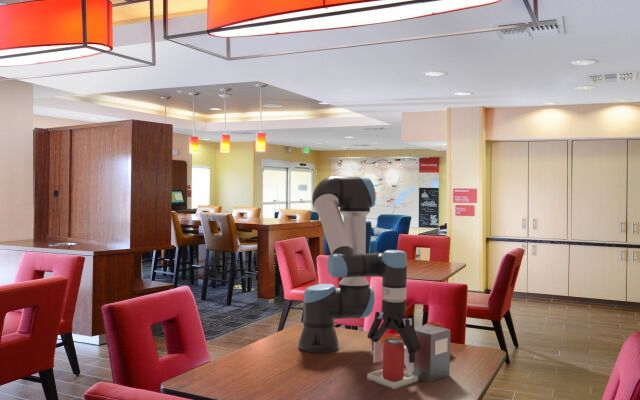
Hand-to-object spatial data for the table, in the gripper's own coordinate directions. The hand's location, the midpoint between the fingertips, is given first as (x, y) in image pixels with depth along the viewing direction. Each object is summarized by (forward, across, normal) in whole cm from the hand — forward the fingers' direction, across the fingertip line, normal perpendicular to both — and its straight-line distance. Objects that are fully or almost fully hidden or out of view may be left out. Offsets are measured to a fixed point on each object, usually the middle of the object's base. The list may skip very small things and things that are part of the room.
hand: (392, 367), depth 177 cm
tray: (+4, 0, 0) cm, 4 cm away
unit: (+4, +4, +13) cm, 14 cm away
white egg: (+4, -7, +16) cm, 18 cm away
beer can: (+4, 0, 0) cm, 4 cm away
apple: (+4, -12, +36) cm, 39 cm away
